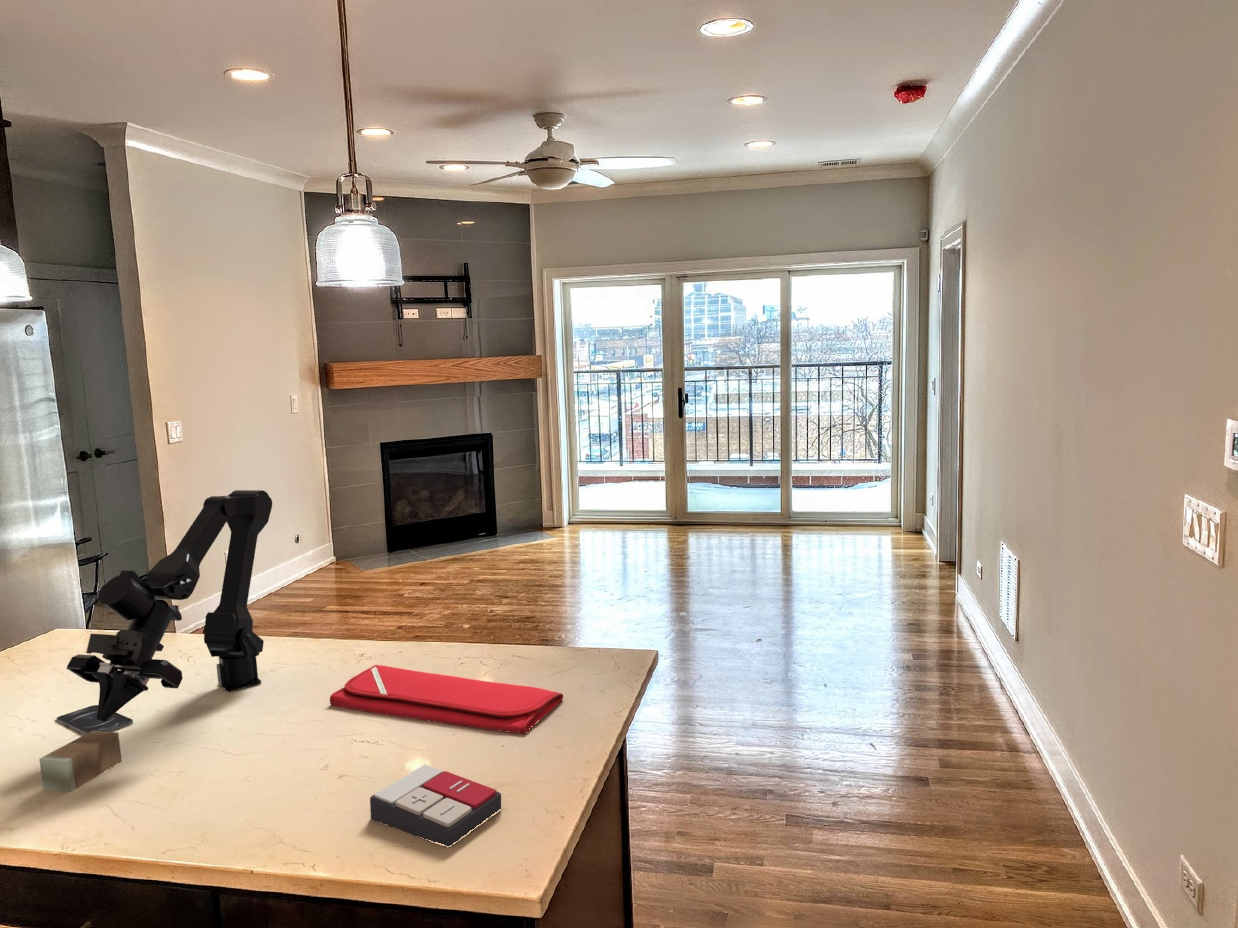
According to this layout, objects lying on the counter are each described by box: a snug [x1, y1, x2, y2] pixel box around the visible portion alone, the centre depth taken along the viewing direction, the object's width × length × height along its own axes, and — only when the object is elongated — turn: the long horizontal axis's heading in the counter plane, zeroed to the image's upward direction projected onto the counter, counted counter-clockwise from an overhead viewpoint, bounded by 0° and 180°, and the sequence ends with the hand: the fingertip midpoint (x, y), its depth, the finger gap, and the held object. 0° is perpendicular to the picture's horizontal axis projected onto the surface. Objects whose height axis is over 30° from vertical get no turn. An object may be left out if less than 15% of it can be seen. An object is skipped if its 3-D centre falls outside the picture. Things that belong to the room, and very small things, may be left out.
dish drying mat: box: [329, 664, 564, 734], centre depth 161 cm, size 16×41×4 cm, turn 69°
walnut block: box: [38, 730, 123, 793], centre depth 137 cm, size 5×5×10 cm
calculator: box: [369, 764, 502, 846], centre depth 122 cm, size 11×4×15 cm
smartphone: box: [55, 704, 134, 736], centre depth 158 cm, size 8×1×15 cm
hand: (100, 720), depth 141 cm, fingers closed
